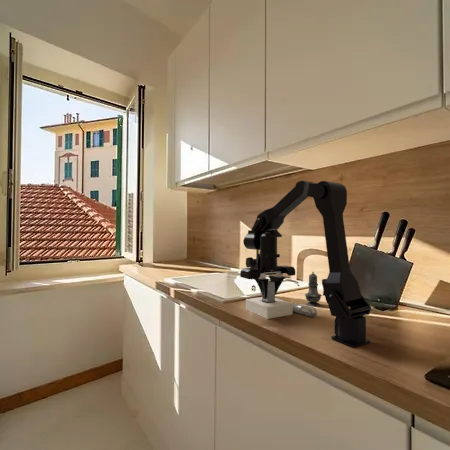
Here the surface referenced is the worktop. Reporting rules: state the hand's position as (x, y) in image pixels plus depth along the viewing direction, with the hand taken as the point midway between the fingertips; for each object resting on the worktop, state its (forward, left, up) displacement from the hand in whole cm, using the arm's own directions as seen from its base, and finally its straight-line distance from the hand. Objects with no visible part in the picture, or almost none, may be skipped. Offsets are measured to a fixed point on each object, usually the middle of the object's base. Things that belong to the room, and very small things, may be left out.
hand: (268, 298), depth 97 cm
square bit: (0, 0, -2) cm, 3 cm away
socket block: (0, 0, -4) cm, 5 cm away
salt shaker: (0, -20, -5) cm, 21 cm away
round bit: (-7, -9, -4) cm, 12 cm away
